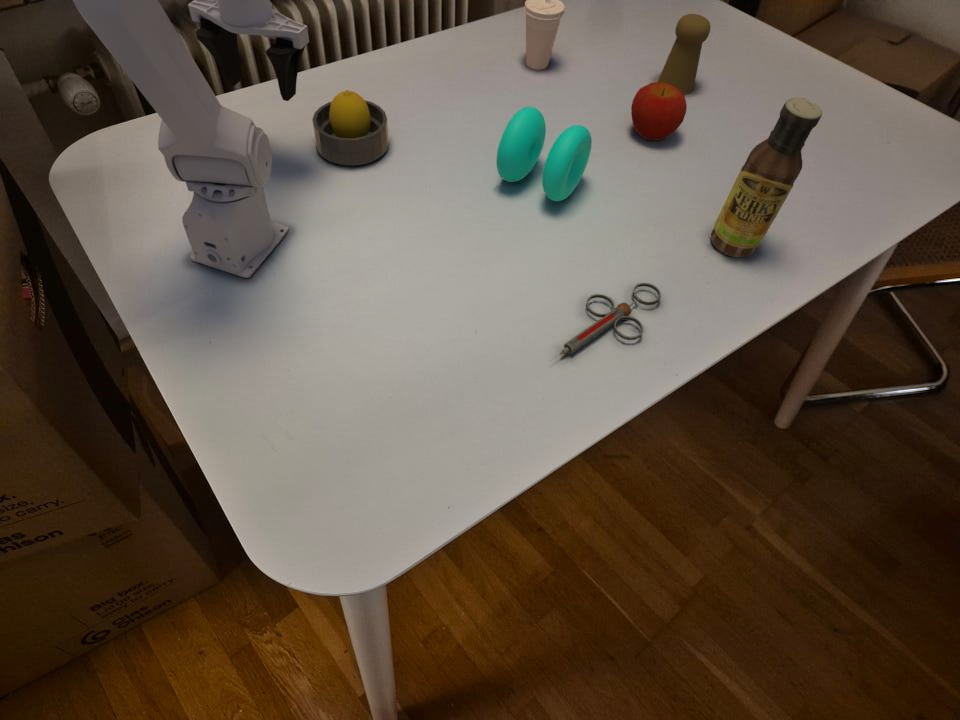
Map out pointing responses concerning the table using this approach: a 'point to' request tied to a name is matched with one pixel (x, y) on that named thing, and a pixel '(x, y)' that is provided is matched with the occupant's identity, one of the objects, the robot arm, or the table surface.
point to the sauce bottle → (765, 181)
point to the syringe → (608, 320)
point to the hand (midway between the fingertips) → (262, 89)
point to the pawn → (685, 53)
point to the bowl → (351, 148)
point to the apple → (658, 110)
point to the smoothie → (541, 30)
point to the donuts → (525, 148)
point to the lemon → (349, 115)
